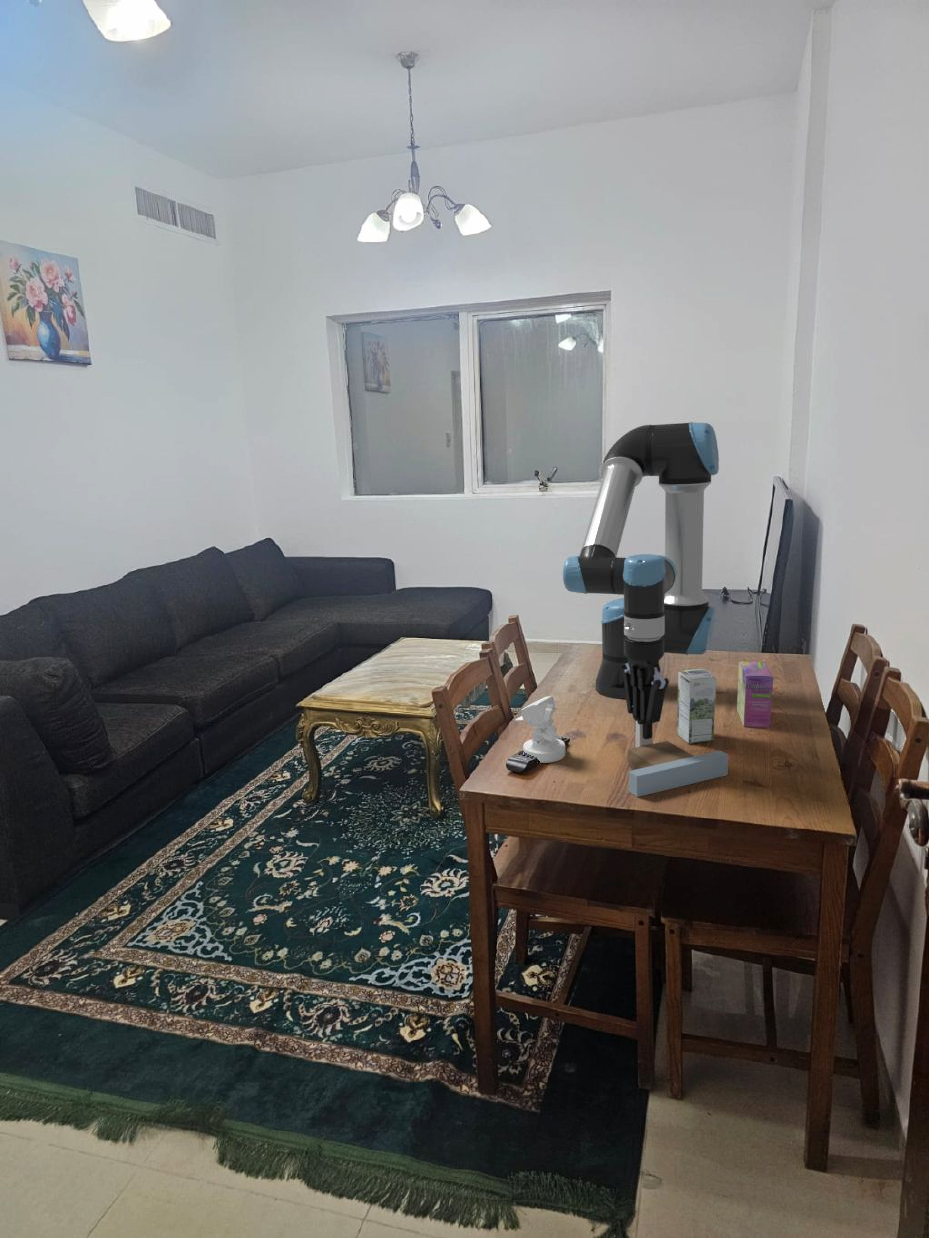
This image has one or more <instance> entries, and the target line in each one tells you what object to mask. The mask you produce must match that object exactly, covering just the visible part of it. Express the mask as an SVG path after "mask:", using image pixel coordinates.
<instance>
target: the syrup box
mask: <svg viewBox="0 0 929 1238" xmlns="http://www.w3.org/2000/svg"><path fill="white" fill-rule="evenodd" d="M677 674H678V677H677V678H678V679H677V711H676V712H677V714H676V715H677V716H676V717H677V718H676V719H677V721H676V735H677V736H679V737H680V738H681V739H682V740H683V741H685V742H686V743H687V744H689V745H690V744H698V743H705V742H706V743H708V742H713V741H714V736H715V715H716V711H715V710H716V692H717V691H716V690H717V689H716V688H717V687H716V686H717V677H716V676H715V675H714V674H713V673H712V672H710V671H709V670H707V669H705V668H697V669H687V670H678V673H677Z"/></svg>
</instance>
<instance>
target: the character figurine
mask: <svg viewBox="0 0 929 1238" xmlns="http://www.w3.org/2000/svg"><path fill="white" fill-rule="evenodd" d="M557 709H558V708H557V707H556V705H555V699H554V696H553V695H550V696H549V695H548V696H547V695H546V696H544V697H542V698H541V699H538V700H536V701H534V702H532V703H530V704H528V705H526V706H525V707H523V708H522V709H521V710H520V713H521V716H519V717H517V718H515V719H514V722H515V723H519V722H527V726H528V727H531V728H534V729H533V733H532V736H533V737H532V738H531V739H528V740H527V741H525V742H524V743H523V746H522V749H523V751H524V752H525V753H527V754H529V755H531V756H534V757H537V759H538V760H539V761H540V763H539V764H542V763H543V764H547V763H553V762H557V761H560V760H562V759H564V757H565V756H566V744H565V743H566V742H564V741H563V740H562V739H561V738H557V737H558V729H557V727H556V725H553V724H554V719H553V718H552V717H553V716H554V714H555V712H557ZM523 751H522V752H523ZM524 752H523V753H524Z"/></svg>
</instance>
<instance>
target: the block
mask: <svg viewBox="0 0 929 1238" xmlns="http://www.w3.org/2000/svg"><path fill="white" fill-rule="evenodd" d="M693 756H694V755H693V754H691V752H690V753H689V752H688V751H686V750H684V749H682V748H680V747H679V746H677V745H675V744H674V743H672V742H671V741H668V740H664V741H660V742H655V743H651V744H650V745H645V746H640V747H636V748H635V747H631V748H627V767H628V768H629V769H631V771H632V770H636V769H640V768H645V767H649V766H653V765H658V764H662V763H666V762H671V761H675V760H680V759H684V758H688V757H693Z"/></svg>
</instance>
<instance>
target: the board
mask: <svg viewBox="0 0 929 1238" xmlns="http://www.w3.org/2000/svg"><path fill="white" fill-rule="evenodd" d="M728 766H729V754H727V753H726V752H723V751H721V750H715V751H711V752H706V753H703V754H698V755H697V754H696V755H693V757H688V758H684V759H680V760H675V761H671V762H666V763H662V764H658V765H653V766H649V767H645V768H640V769H636V770H632V769H631V770H629V771H628V792H629V793H630V794H632V795H633V796H635V797H636V798H639V797H643V796H647V795H650V794H651V795H652V794H654V793H659V792H664V791H668V790H671V789H676V788H680V787H684V786H688V785H692V784H696V783H700V782H704V781H707V780H712V779H716V778H720V777H725V776H728V775H729V774H728V770H729V769H728V768H729V767H728Z"/></svg>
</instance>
